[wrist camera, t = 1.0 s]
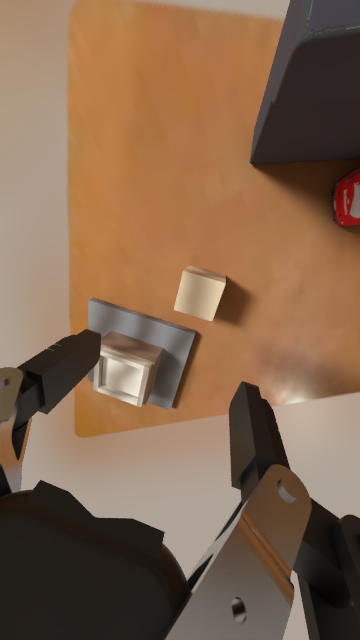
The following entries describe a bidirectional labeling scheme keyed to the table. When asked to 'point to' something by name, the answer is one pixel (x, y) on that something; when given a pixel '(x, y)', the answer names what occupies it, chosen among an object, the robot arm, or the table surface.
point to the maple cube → (200, 292)
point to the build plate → (151, 335)
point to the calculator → (313, 87)
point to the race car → (347, 200)
